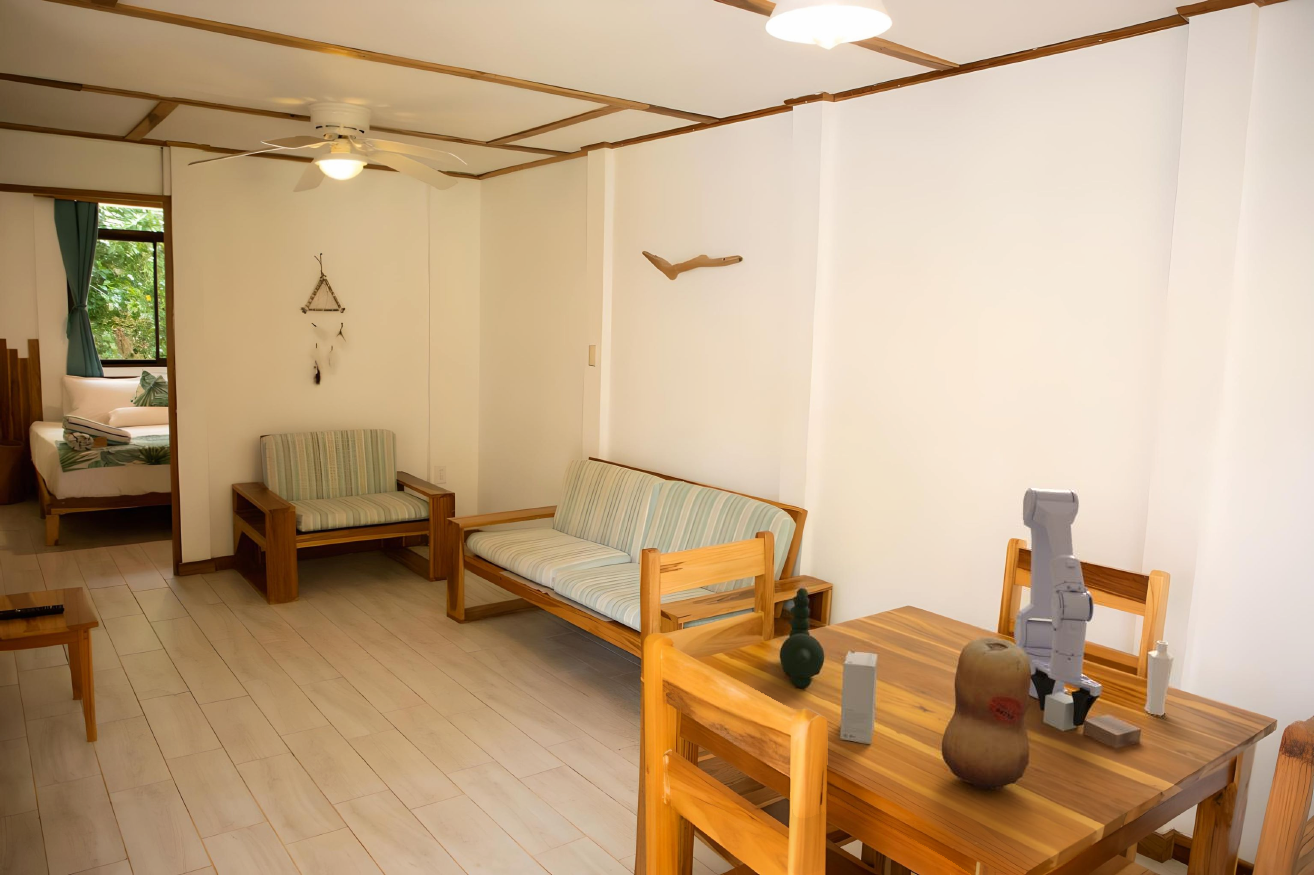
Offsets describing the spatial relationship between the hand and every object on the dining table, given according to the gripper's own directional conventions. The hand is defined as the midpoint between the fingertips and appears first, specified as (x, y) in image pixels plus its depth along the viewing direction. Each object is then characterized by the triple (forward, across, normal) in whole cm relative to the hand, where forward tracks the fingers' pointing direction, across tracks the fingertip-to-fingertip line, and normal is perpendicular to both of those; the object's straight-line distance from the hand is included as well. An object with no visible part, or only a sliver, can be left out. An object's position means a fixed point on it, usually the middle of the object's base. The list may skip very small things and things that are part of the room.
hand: (1061, 717), depth 176 cm
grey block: (+2, 0, 0) cm, 2 cm away
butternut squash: (+2, +11, -34) cm, 36 cm away
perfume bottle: (+2, +4, +24) cm, 24 cm away
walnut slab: (+2, +8, +4) cm, 9 cm away
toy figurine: (+2, -41, -34) cm, 53 cm away
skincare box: (+2, -13, -41) cm, 43 cm away
